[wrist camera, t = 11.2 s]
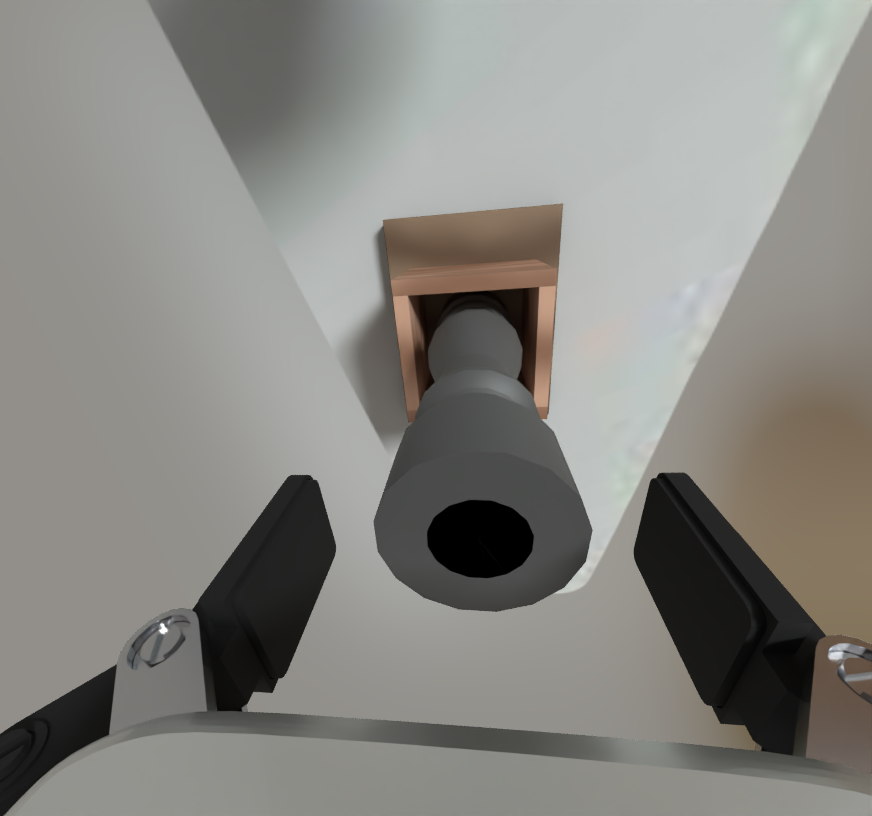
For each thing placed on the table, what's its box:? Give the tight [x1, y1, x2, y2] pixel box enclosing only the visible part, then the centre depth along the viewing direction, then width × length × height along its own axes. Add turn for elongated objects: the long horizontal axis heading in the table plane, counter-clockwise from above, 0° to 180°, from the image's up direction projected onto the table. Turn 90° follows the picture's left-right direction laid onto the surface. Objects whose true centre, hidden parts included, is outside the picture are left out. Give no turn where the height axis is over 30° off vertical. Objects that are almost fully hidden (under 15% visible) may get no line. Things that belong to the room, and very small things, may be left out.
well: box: [383, 204, 563, 422], centre depth 29 cm, size 18×14×10 cm
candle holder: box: [374, 290, 592, 612], centre depth 21 cm, size 6×6×25 cm
